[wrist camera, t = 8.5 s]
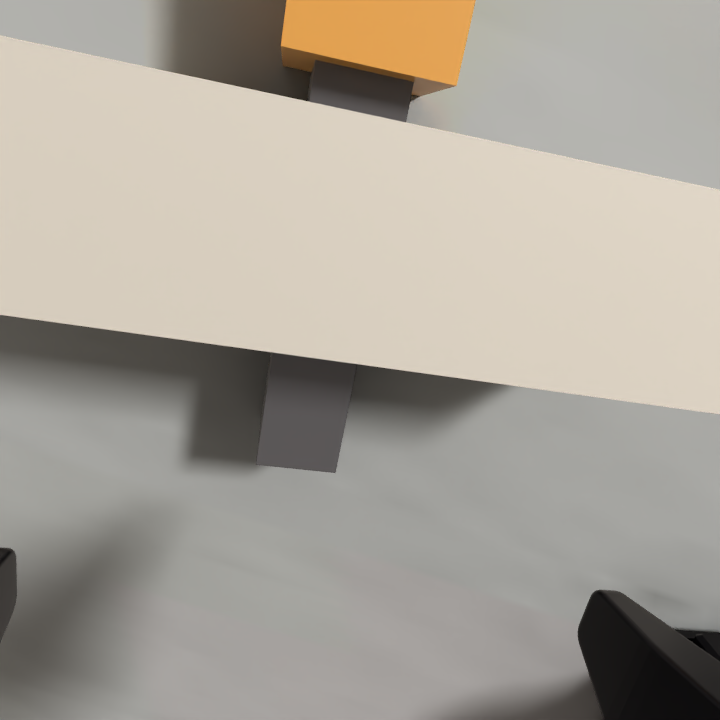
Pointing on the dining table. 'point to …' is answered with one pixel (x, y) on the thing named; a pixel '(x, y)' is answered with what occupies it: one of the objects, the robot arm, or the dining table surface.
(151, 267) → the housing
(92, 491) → the dining table surface
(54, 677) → the dining table surface
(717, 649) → the robot arm
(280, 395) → the orange grey square bar
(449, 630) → the dining table surface
